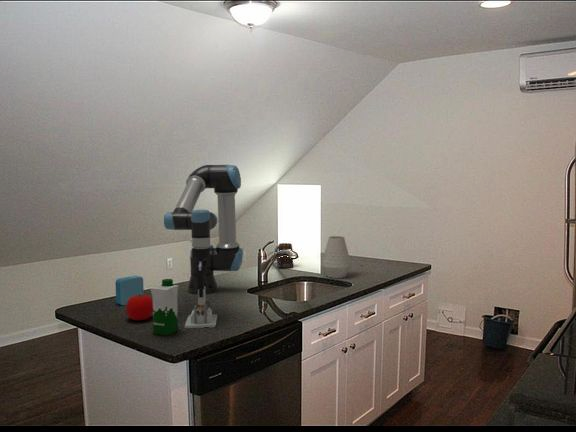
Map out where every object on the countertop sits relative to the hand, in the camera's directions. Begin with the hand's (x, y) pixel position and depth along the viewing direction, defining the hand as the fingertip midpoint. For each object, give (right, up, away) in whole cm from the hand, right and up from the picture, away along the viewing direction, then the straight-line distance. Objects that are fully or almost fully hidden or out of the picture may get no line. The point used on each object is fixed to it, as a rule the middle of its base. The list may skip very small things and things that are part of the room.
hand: (201, 303), depth 203 cm
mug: (+33, +3, +106) cm, 111 cm away
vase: (+64, +1, +82) cm, 104 cm away
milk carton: (-12, -9, -14) cm, 20 cm away
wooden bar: (0, -2, -2) cm, 3 cm away
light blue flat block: (-38, -5, +27) cm, 47 cm away
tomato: (-26, -7, +2) cm, 27 cm away
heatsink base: (0, -7, -2) cm, 8 cm away
